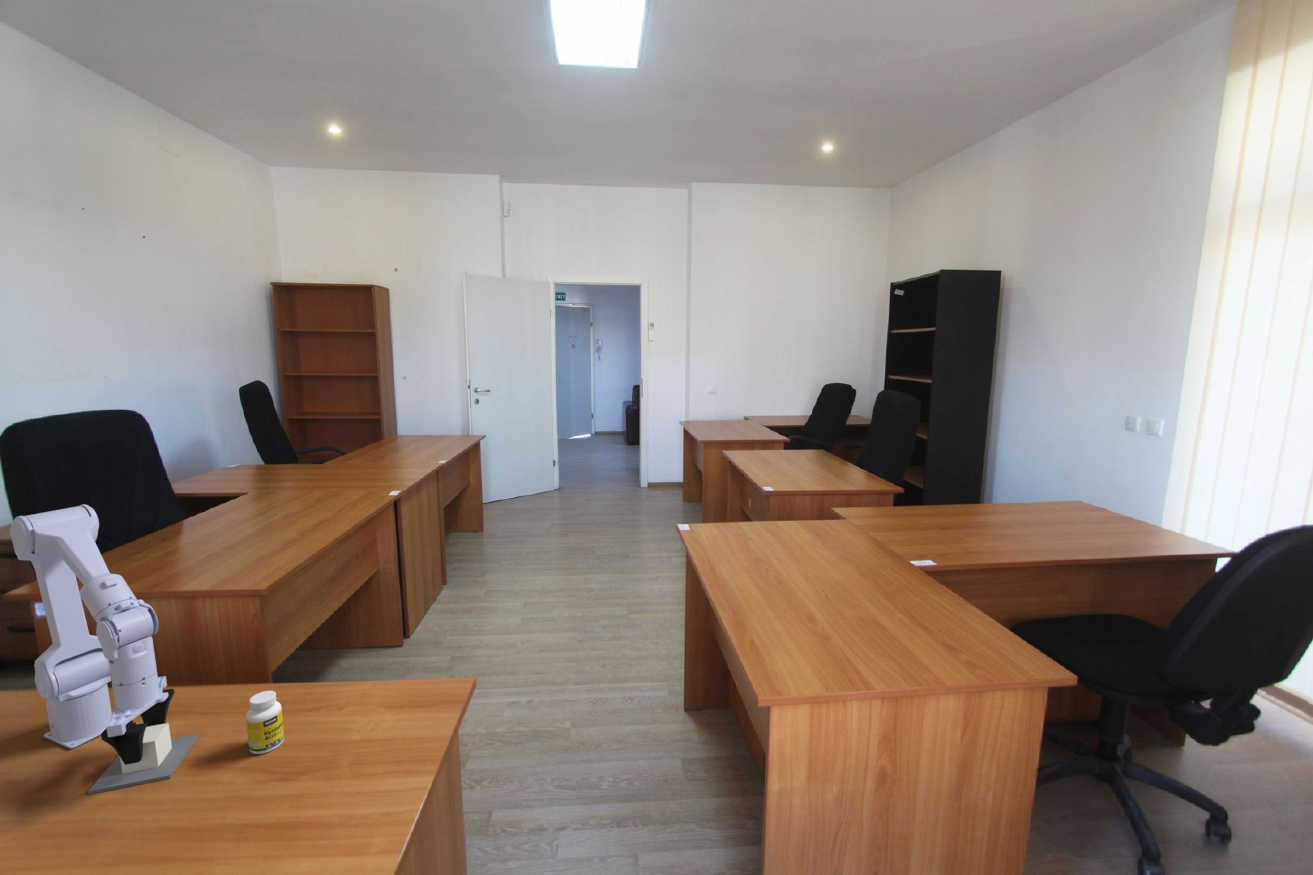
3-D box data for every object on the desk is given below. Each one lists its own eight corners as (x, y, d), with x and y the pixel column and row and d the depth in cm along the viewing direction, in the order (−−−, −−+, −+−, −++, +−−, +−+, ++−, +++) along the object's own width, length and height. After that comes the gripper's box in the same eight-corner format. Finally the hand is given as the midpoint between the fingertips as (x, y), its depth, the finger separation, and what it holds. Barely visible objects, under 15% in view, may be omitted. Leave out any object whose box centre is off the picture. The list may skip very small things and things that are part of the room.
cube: (122, 773, 96) (118, 747, 95) (137, 754, 100) (134, 729, 100) (158, 766, 97) (154, 740, 97) (171, 747, 102) (168, 722, 101)
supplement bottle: (266, 757, 101) (261, 707, 99) (242, 752, 102) (236, 703, 100) (291, 737, 106) (287, 689, 104) (268, 733, 107) (262, 686, 105)
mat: (88, 794, 92) (88, 791, 92) (126, 749, 102) (125, 746, 102) (170, 778, 96) (169, 775, 95) (198, 736, 106) (198, 734, 106)
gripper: (140, 695, 91) (151, 770, 93) (182, 651, 104) (191, 717, 106) (85, 704, 89) (98, 780, 91) (135, 657, 102) (145, 725, 104)
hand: (145, 747), depth 98 cm, fingers open, 7 cm apart
